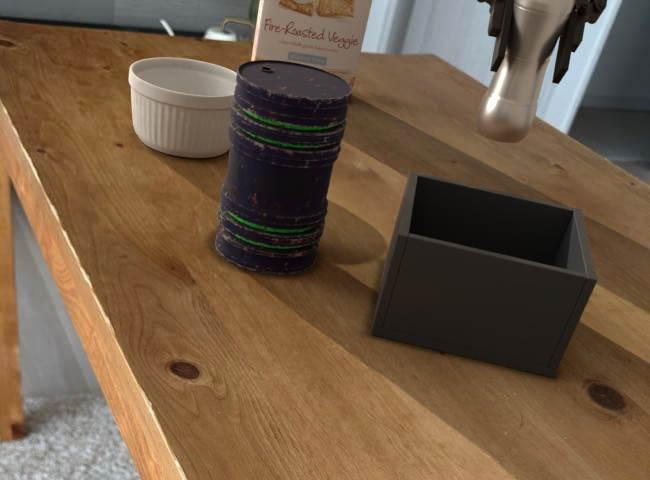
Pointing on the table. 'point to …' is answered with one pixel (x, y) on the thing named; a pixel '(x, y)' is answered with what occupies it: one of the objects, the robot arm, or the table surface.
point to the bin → (485, 275)
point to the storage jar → (280, 164)
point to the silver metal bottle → (522, 69)
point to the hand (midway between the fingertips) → (528, 70)
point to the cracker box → (313, 33)
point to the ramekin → (182, 105)
